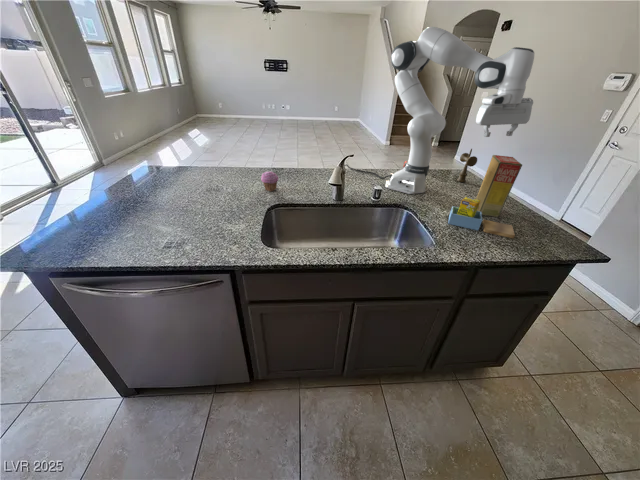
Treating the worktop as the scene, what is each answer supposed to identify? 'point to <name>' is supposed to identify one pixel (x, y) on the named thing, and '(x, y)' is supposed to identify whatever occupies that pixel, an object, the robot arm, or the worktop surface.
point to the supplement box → (468, 207)
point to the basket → (465, 219)
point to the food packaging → (497, 184)
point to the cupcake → (269, 180)
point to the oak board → (498, 228)
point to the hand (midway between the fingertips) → (497, 136)
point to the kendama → (466, 165)
